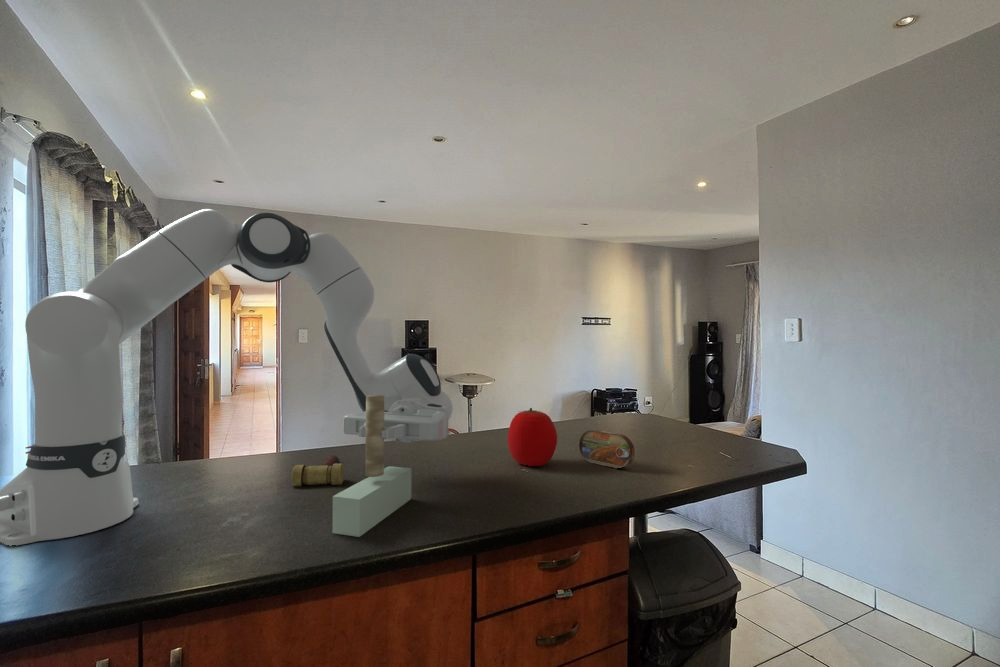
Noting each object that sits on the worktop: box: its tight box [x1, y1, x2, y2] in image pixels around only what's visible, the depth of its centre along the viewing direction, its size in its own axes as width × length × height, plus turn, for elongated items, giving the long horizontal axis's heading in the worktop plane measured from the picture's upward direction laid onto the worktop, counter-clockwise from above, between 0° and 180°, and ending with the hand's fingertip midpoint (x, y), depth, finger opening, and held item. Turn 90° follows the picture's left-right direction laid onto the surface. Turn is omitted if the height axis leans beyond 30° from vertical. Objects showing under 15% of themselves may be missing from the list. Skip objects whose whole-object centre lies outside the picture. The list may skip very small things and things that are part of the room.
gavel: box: [291, 455, 345, 487], centre depth 109 cm, size 21×5×10 cm
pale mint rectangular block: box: [331, 465, 412, 538], centre depth 84 cm, size 5×18×6 cm, turn 164°
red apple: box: [507, 407, 558, 467], centre depth 117 cm, size 13×11×14 cm
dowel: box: [364, 395, 385, 478], centre depth 84 cm, size 3×3×14 cm
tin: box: [578, 429, 636, 468], centre depth 116 cm, size 15×3×8 cm, turn 43°
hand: (373, 433), depth 83 cm, fingers closed on dowel, 3 cm apart
